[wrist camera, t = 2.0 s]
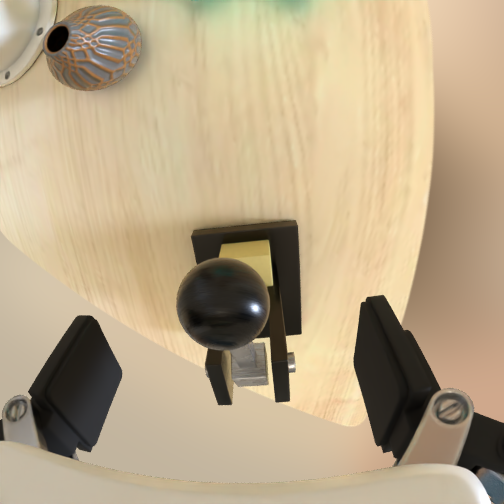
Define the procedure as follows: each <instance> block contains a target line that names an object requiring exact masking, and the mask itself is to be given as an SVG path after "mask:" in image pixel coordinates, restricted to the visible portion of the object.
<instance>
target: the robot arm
mask: <svg viewBox="0 0 504 504" xmlns="http://www.w3.org/2000/svg"><path fill="white" fill-rule="evenodd" d="M56 11H57V0H0V87H2V86H6V85H9V84H10V83H12V82H14V81H16V80H17V79H18V78H20V77H21V76H22V75H23V74H24V73H25V72H26V71H27V70H28V69H29V68H30V67H31V65H32V64H33V63H34V61H35V60H36V59H37V57H38V56H39V54H40V53H41V51H42V49H43V40H44V37H45V35H46V33H47V31H48V30H49V29H50V28H51V27H52V26H53V25H54V20H55V16H56ZM354 368H355V372H356V375H357V378H358V382H359V385H360V389H361V392H362V396H363V399H364V403H365V406H366V410H367V413H368V417H369V421H370V424H371V428H372V432H373V436H374V439H375V443H376V445H377V446H381V447H382V450H383V453H386V452H390V451H392V452H393V455H394V457H395V458H396V461H395V463H394V465H393V467H389V468H384V469H379V470H373V471H367V472H361V473H355V474H350V475H343V476H336V477H329V478H322V479H313V480H301V481H290V482H276V483H211V482H196V481H184V480H175V479H166V478H159V477H152V476H145V475H139V474H134V473H128V472H123V471H118V470H114V469H109V468H104V467H101V466H96V465H93V464H89V463H85V462H81V461H79V460H78V457H77V454H76V452H75V450H76V448H78V449H80V450H83V451H87V452H91V450H92V447H93V446H94V445H95V444H96V443H97V441H98V438H99V435H100V432H101V430H102V427H103V424H104V422H105V419H106V416H107V414H108V411H109V408H110V406H111V403H112V401H113V398H114V396H115V393H116V391H117V388H118V386H119V383H120V381H121V378H122V370H121V367H120V366H119V363H118V362H117V360H116V358H115V356H114V354H113V352H112V350H111V348H110V346H109V344H108V342H107V340H106V338H105V336H104V334H103V332H102V330H101V328H100V325H99V323H98V321H97V320H95V319H94V318H93V317H92V316H82V315H81V316H77V317H76V318H75V319H74V321H73V322H72V324H71V325H70V327H69V328H68V330H67V331H66V333H65V334H64V336H63V337H62V339H61V340H60V341H59V343H58V344H57V346H56V348H55V349H54V351H53V352H52V354H51V355H50V357H49V358H48V360H47V361H46V363H45V365H44V366H43V368H42V369H41V371H40V373H39V374H38V376H37V378H36V379H35V381H34V383H33V384H32V386H31V388H30V389H29V391H28V392H29V394H30V395H31V396H32V398H31V400H30V399H29V398H28V397H27V396H24V395H17V396H14V397H13V398H11V399H10V400H9V401H8V402H7V403H6V404H5V406H4V408H3V411H2V419H1V420H0V504H491V502H493V503H494V504H504V423H502V422H499V421H496V420H494V419H491V418H488V417H485V416H483V415H480V414H478V413H475V412H474V406H473V402H472V400H471V399H470V397H469V396H468V395H467V394H466V393H465V392H463V391H460V390H459V389H454V388H447V389H443V390H441V389H440V387H439V384H438V383H437V381H436V378H435V377H434V374H433V373H432V371H431V368H430V366H429V365H428V363H427V361H426V359H425V357H424V355H423V353H422V351H421V349H420V347H419V346H418V344H417V342H416V340H415V338H414V336H413V335H412V333H411V332H410V331H409V330H403V328H402V326H401V325H400V323H399V321H398V319H397V317H396V315H395V314H394V312H393V310H392V308H391V306H390V305H389V303H388V301H387V299H386V298H385V296H384V295H380V296H372V297H367V298H366V302H362V303H361V307H360V315H359V324H358V332H357V339H356V346H355V353H354ZM487 494H488V495H489V496H490V497H491V498H490V499H489V497H488V495H487Z"/></svg>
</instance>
